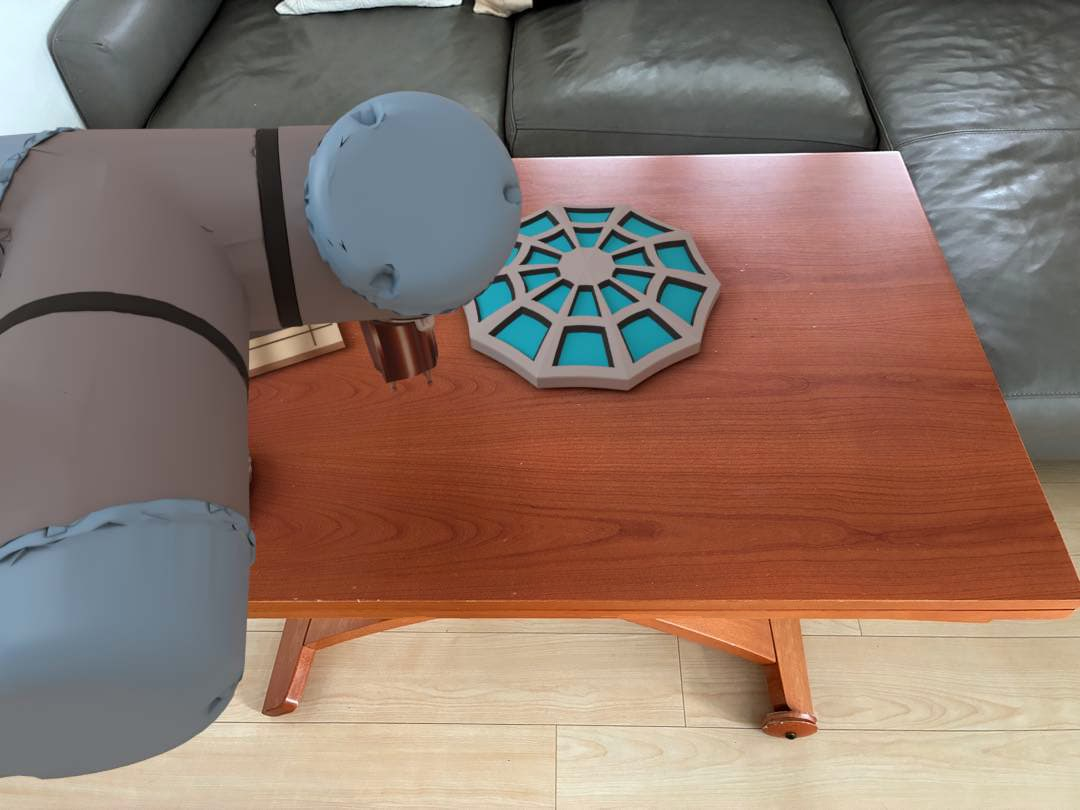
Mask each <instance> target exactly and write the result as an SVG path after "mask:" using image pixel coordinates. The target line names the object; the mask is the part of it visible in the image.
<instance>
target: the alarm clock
mask: <svg viewBox="0 0 1080 810" xmlns="http://www.w3.org/2000/svg"><path fill="white" fill-rule="evenodd" d="M358 323H359V327H360V330H361V333H362V335H363V338H364V341H365V345H366V347H367V350H368V353H369V355H370V359H371V361H372V363H373V366H374V368H375V370H376V371H378V372H379V373H380V374H381V375H382V378H383V380H384V383H385V384H389V383H390V386H391V392H393V393H396V392H397V391H398V388H397V386H396V385H397V384H396V383H397V382H398V381H403V380H408V379H411V378H415V377H416V376H420V375H421V374H424V376H425V379H426V382H427V386H428V387H433V386H434V381H433V380H432V375H431V370H432V369H435V368H437V363H438V360H439V349H438V343H437V338H436V334H435V330H434V328H433V329H432V330H429V331H424V332H423V331H420V330H418V329H417V327H416V324H411V325H407V326H399V327H390V326H382V325H377V324H374V323H371V322H368V321H366V320H364V321H358Z"/></svg>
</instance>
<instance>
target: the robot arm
mask: <svg viewBox="0 0 1080 810" xmlns="http://www.w3.org/2000/svg"><path fill="white" fill-rule="evenodd" d="M521 189H522V188H521V185H520V179H519V176H518V171H517V169H516V167H515V163H514V161H513V159H512V157H511V155H510V153H509V151H508V149H507V147H506V146H505V144H504V143H503V141H502V139H501V138H500V137H499V136H498V134H497V133H496V132H495V131H494V130H493V129H492V128H491V127H490V126H489V124H488V123H486V122H485V121H484V120H483V118H481V117H480V116H479V115H477V114H476V113H475V112H474V111H472V110H471V109H469V108H467V107H466V106H465V105H463V104H461V103H459V102H457V101H455V100H453V99H450V98H448V97H445V96H442V95H439V94H435V93H431V92H424V91H417V90H416V91H415V90H413V91H412V90H405V91H404V90H403V91H401V90H400V91H394V92H388V93H384V94H379V95H376V96H373V97H371V98H369V99H367V100H364V101H363V102H361V103H358V104H357V105H356V106H355V107H353V108H352V109H350V110H349V111H347V112H346V113H344V114H342V116H341V117H340V118H339V119H338V120H337V121H336V122H335V123H334V124H325V125H324V124H323V125H322V124H320V125H287V126H286V125H280V126H279V127H277V128H274V127H273V128H257V127H243V128H242V127H240V128H238V127H237V128H235V127H232V128H230V127H229V128H228V127H227V128H222V127H221V128H105V129H104V128H102V129H101V128H99V129H98V128H97V129H94V128H93V129H89V128H87V129H86V128H81V127H77V126H76V127H71V126H57V127H56V128H55V129H53V130H51V129H50V130H49V129H47V130H46V129H45V130H42V131H39V132H31V133H20V134H19V133H18V134H17V133H16V134H8V135H0V779H3V778H11V777H31V778H36V779H39V780H55V779H58V780H59V779H65V778H73V777H80V776H85V775H86V776H87V775H92V774H98V773H103V772H108V771H112V770H117V769H121V768H124V767H128V766H132V765H134V764H135V765H136V764H138V763H141V762H144V761H146V760H149V759H152V758H155V757H157V756H161V755H163V754H166V753H168V752H170V751H172V750H175V749H176V748H178V747H180V746H182V745H185V744H186V743H187V742H189V741H190V740H192V739H193V738H195V737H196V736H198V735H200V734H202V733H203V732H204V731H205V730H207V728H209V727H210V726H211V725H212V724H213V723H215V722H216V720H218V718H219V717H220V716H221V715H222V714H223V712H225V710H227V707H228V706H229V704H230V702H231V701H232V699H234V698H233V697H234V696H235V693H236V691H237V688H238V685H239V683H240V682H241V681H242V680H243V677H244V672H245V665H246V649H247V647H246V646H247V629H248V612H249V594H250V576H251V575H250V574H251V567H252V566H253V564H254V563H255V560H256V557H257V556H256V554H257V541H256V540H257V539H256V533H255V532H254V531H253V529H252V528H251V521H250V520H251V518H250V517H251V516H250V515H251V513H250V511H251V510H250V483H249V458H248V449H249V418H248V417H249V416H248V415H249V413H248V412H249V411H248V406H249V397H250V396H249V393H250V392H249V391H250V378H249V338H250V331H258V330H268V329H278V328H288V327H302V326H303V325H314V324H327V323H337V324H338V323H350V322H351V323H352V322H359V321H364V320H366V321H368V322H371V323H374V324H377V325H382V326H390V327H399V326H407V325H411V324H416V327H417V329H418V330H420V331H423V332H424V331H429V330H432V329H434V328H435V327H436V325H437V321H436V319H435V316H439V315H446V314H450V313H451V314H452V313H454V312H457V311H458V310H459V308H461V306H462V305H464V306H466V305H468V304H469V303H470V302H471V301H472V300H473V299H474V298H477V297H479V296H481V295H482V294H483V293H484V292H485V291H486V290H487V289H488V288H489V287H490V285H491V284H492V283H493V282H494V278H495V276H496V275H497V274H499V272H500V270H501V269H502V268H503V267H504V265H505V264H506V262H507V261H508V259H509V257H510V255H511V253H512V251H513V249H514V246H515V244H516V241H517V237H518V234H519V230H520V225H521V219H522V215H523V199H524V196H523V193H522V190H521Z"/></svg>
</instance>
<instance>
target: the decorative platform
mask: <svg viewBox="0 0 1080 810" xmlns="http://www.w3.org/2000/svg"><path fill="white" fill-rule="evenodd" d="M721 289H722V283H721V282H720V280H719V279H718V278H717V276H715V274H714V273H713V272H712V270H711V269H710V267H709V266H708V265H707V263H706V262H705V260H704V258H703V256H702V254H701V253H700V251H699V249H698V247H697V245H696V243H695V240H694V238H693V236H692V233H691V232H690V231H687V230H683V229H681V228H678V227H675V226H673V225H670V224H668V223H665V222H663V221H661V220H659V219H656V218H654V217H652V216H650V215H649V214H647V213H644V212H642V211H641V210H638V209H637V208H635V207H633V206H632V205H629V204H627V203H617V204H597V205H595V204H593V205H592V204H590V205H589V204H587V205H585V204H566V203H549V204H548V205H546V206H545V207H542V208H541V209H539V210H537V211H535V212H533V213H530V214H528V215H526V216H525V217H521V225H520V230H519V234H518V237H517V241H516V244H515V246H514V249H513V251H512V253H511V255H510V257H509V259H508V261H507V262H506V264H505V265H504V267H503V268H502V269H501V270H500V272H499V274H497V275H496V276H495V278H494V282H493V283H492V284H491V285H490V287H489V288H488V289H487V290H486V291H485V292H484V293H483V294H482V295H481V296H479V297H477V298H474V299H473V300H472V301H471V302H470V303H469V304H468V305H466V306H464V305H461V306H462V309H463V311H464V314H465V317H466V321H467V326H468V333H469V341H470V346H471V349H473V350H474V351H475V350H476V351H477V352H479V353H482V354H483V355H486V356H487V357H489V358H491V359H493V360H495V361H497V362H499V363H500V364H502V365H504V366H506V367H507V368H509V369H511V371H514V372H515V373H517V374H518V376H520V377H522V378H523V379H524V380H526V381H527V382H529V383H530V384H532V385H533V386H534V387H535V388H537V389H552V388H596V389H608V390H618V391H619V390H620V391H627V392H628V391H629V390H631V389H632V388H634V387H635V386H637V385H638V384H640V383H641V382H643V381H644V380H646V379H648V378H650V377H651V376H652V375H654V374H656V373H657V372H659V371H661V370H663V369H665V368H667V367H669V366H671V365H673V364H676V363H678V362H679V361H683V360H684V359H687V358H689V357H691V356H694V355H696V354H699V353H700V349H701V344H702V340H703V335H704V331H705V328H706V325H707V322H708V319H709V317H710V314H711V313H712V311H713V308H714V306H715V304H716V302H717V301H718V298H719V296H720V294H721Z"/></svg>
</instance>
